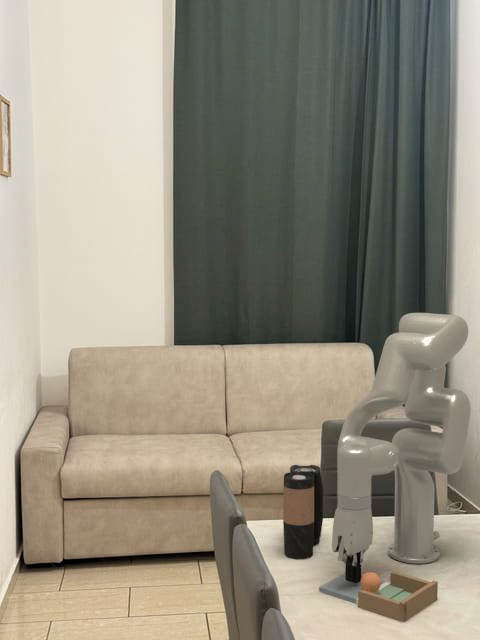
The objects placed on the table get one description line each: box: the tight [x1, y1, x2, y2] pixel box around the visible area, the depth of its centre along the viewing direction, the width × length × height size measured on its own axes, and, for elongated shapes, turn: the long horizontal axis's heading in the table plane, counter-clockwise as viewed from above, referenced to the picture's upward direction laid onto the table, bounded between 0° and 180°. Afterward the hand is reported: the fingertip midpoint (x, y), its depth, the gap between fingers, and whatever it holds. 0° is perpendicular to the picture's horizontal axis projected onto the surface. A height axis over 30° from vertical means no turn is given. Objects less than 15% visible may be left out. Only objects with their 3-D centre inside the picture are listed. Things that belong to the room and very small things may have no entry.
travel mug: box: [282, 472, 314, 560], centre depth 211 cm, size 8×8×20 cm
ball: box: [360, 571, 382, 593], centre depth 186 cm, size 4×4×4 cm
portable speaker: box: [289, 464, 324, 547], centre depth 219 cm, size 9×9×20 cm
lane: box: [318, 570, 439, 623], centre depth 186 cm, size 14×22×4 cm, turn 49°
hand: (353, 580), depth 190 cm, fingers closed
